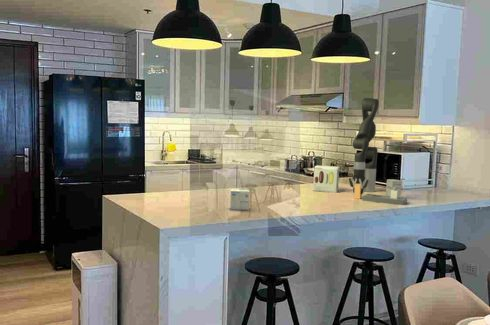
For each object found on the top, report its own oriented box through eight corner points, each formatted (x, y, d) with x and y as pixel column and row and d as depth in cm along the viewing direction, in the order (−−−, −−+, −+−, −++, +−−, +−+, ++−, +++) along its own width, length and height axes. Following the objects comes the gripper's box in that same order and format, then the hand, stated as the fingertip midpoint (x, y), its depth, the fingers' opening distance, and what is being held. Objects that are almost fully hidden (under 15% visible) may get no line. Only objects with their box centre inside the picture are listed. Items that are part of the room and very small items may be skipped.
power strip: (367, 198, 328) (368, 183, 327) (407, 202, 315) (408, 187, 314) (362, 200, 318) (363, 185, 317) (403, 205, 305) (404, 189, 304)
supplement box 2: (385, 197, 335) (386, 179, 334) (394, 197, 337) (396, 179, 336) (391, 199, 328) (392, 180, 327) (400, 199, 330) (402, 180, 329)
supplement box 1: (312, 191, 353) (313, 166, 351) (315, 188, 366) (316, 165, 364) (336, 193, 348) (337, 168, 346) (338, 190, 361) (339, 166, 359)
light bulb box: (248, 207, 278) (249, 189, 277) (249, 210, 271) (249, 191, 270) (230, 207, 278) (230, 188, 277) (230, 209, 271) (230, 190, 270)
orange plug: (355, 197, 328) (356, 180, 327) (361, 198, 326) (362, 180, 325) (354, 198, 325) (355, 180, 324) (359, 199, 323) (360, 181, 322)
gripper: (371, 168, 323) (370, 194, 325) (350, 167, 330) (349, 192, 332) (368, 169, 317) (366, 195, 319) (347, 168, 324) (346, 193, 326)
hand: (358, 193), depth 325 cm, fingers closed on orange plug, 4 cm apart
